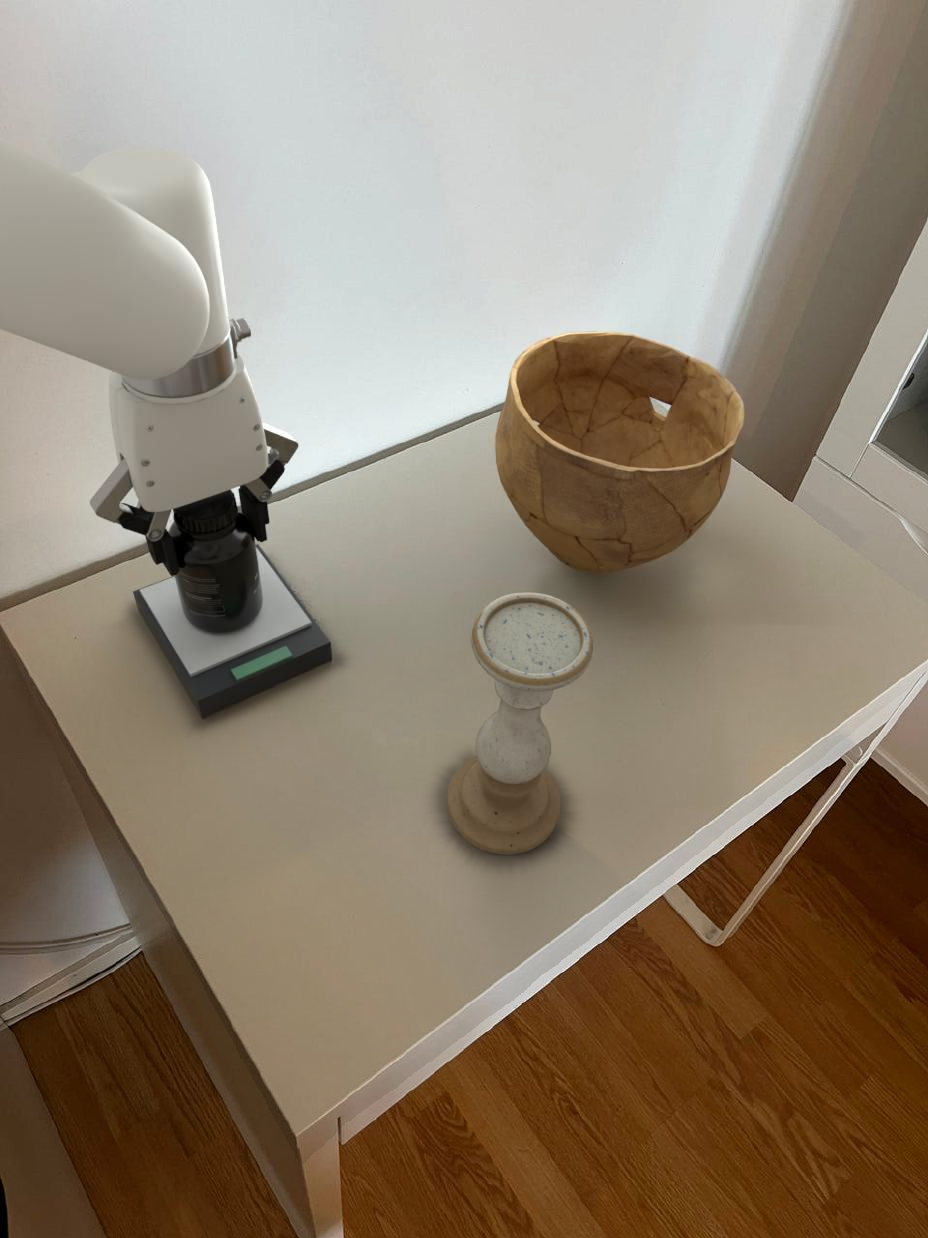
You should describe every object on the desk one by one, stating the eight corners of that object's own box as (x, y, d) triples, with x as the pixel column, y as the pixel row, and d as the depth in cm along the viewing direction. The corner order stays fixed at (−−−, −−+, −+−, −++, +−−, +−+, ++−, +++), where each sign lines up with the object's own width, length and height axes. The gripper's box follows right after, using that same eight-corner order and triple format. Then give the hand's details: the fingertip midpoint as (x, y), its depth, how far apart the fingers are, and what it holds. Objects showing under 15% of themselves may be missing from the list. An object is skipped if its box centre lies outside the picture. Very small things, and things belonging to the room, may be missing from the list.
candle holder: (503, 738, 76) (531, 563, 61) (582, 809, 72) (633, 640, 57) (423, 800, 72) (432, 627, 57) (502, 879, 68) (535, 716, 53)
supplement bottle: (280, 608, 81) (267, 502, 72) (215, 649, 77) (193, 544, 68) (231, 567, 84) (213, 460, 75) (166, 605, 80) (139, 498, 71)
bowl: (478, 491, 97) (494, 318, 82) (668, 495, 99) (718, 326, 84) (489, 643, 83) (511, 467, 68) (711, 645, 85) (779, 473, 70)
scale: (202, 719, 76) (196, 698, 74) (138, 610, 83) (131, 588, 81) (332, 660, 81) (330, 638, 79) (260, 562, 88) (257, 540, 86)
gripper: (269, 297, 67) (288, 487, 81) (25, 360, 60) (90, 557, 74) (319, 347, 64) (330, 538, 77) (63, 421, 56) (124, 618, 70)
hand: (212, 546), depth 75 cm, fingers closed on supplement bottle, 6 cm apart
